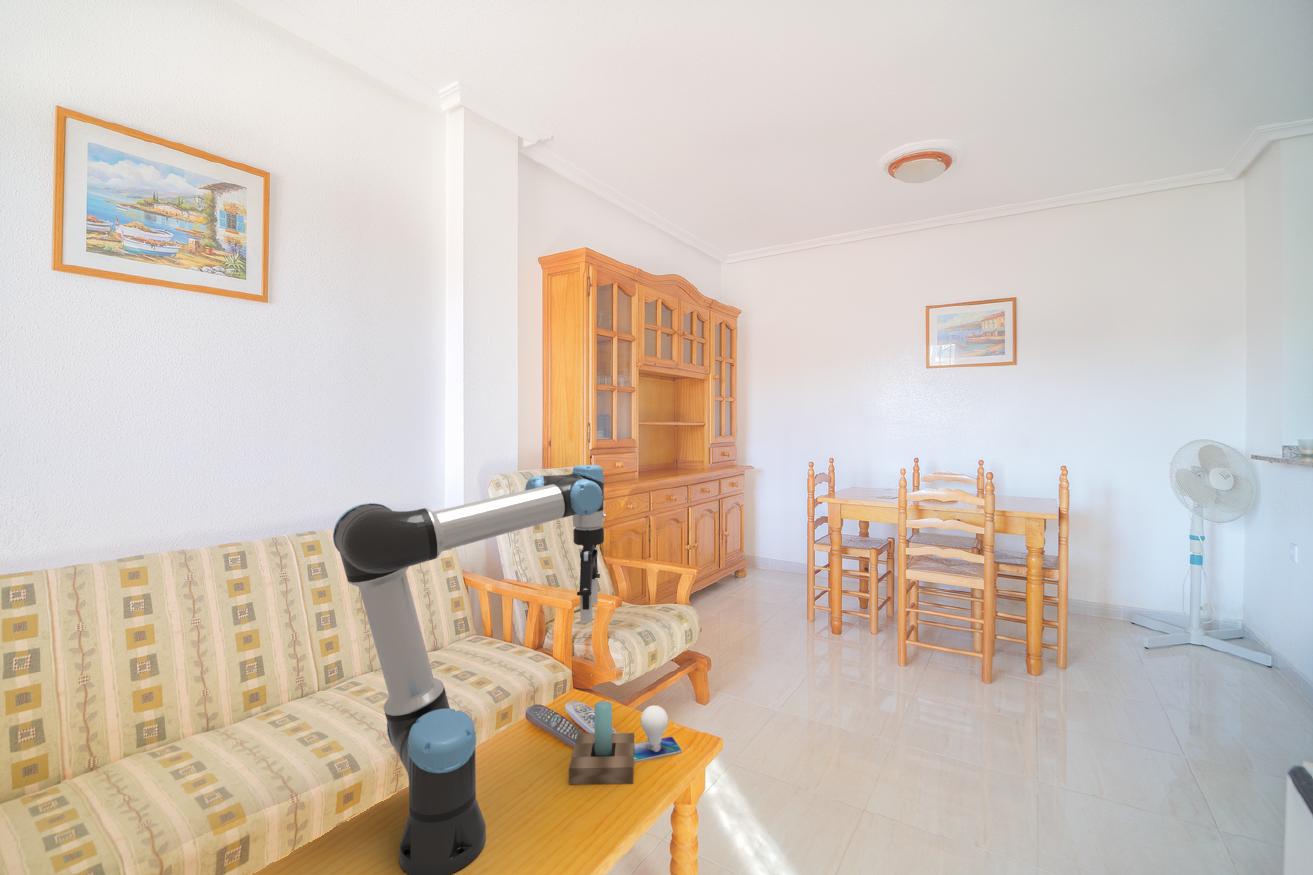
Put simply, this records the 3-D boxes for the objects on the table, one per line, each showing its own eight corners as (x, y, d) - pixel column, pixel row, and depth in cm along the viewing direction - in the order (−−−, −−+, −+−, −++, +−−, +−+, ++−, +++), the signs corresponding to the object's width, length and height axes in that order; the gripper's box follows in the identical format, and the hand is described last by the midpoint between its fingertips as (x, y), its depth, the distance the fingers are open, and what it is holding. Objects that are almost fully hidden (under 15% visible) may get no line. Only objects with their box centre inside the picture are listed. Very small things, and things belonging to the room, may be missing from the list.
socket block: (569, 784, 123) (569, 768, 123) (577, 748, 137) (577, 733, 137) (632, 783, 123) (632, 767, 123) (634, 747, 137) (634, 732, 137)
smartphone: (615, 747, 137) (672, 735, 142) (615, 750, 137) (672, 739, 142) (622, 762, 130) (682, 750, 135) (622, 766, 130) (682, 753, 135)
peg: (611, 769, 128) (611, 709, 128) (594, 770, 128) (593, 709, 128) (612, 759, 132) (612, 700, 132) (595, 760, 132) (595, 701, 132)
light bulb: (665, 761, 131) (665, 714, 131) (638, 758, 133) (637, 712, 132) (670, 745, 138) (670, 701, 138) (644, 742, 139) (643, 699, 139)
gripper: (599, 536, 126) (600, 630, 126) (607, 519, 151) (608, 597, 151) (566, 537, 126) (567, 630, 126) (579, 519, 151) (580, 597, 151)
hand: (589, 612), depth 139 cm, fingers open, 13 cm apart
